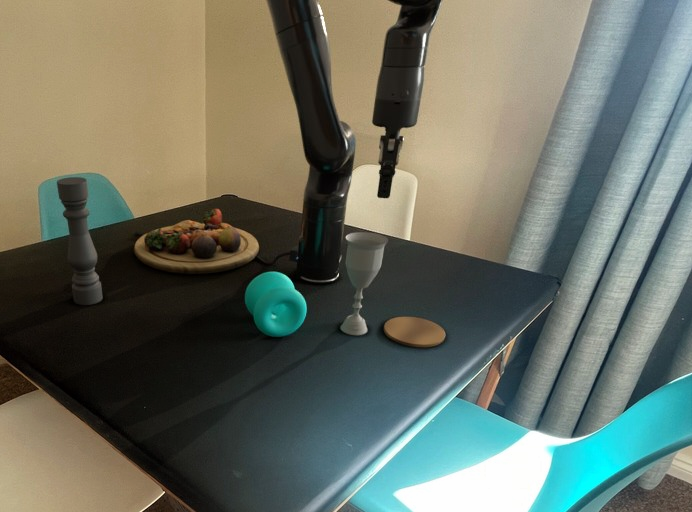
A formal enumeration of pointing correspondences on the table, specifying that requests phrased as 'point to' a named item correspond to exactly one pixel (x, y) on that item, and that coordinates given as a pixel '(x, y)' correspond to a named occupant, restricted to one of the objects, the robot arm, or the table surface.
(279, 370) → the table surface
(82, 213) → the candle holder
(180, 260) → the wooden plate
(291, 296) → the turquoise spool
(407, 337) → the coaster
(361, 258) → the chalice
